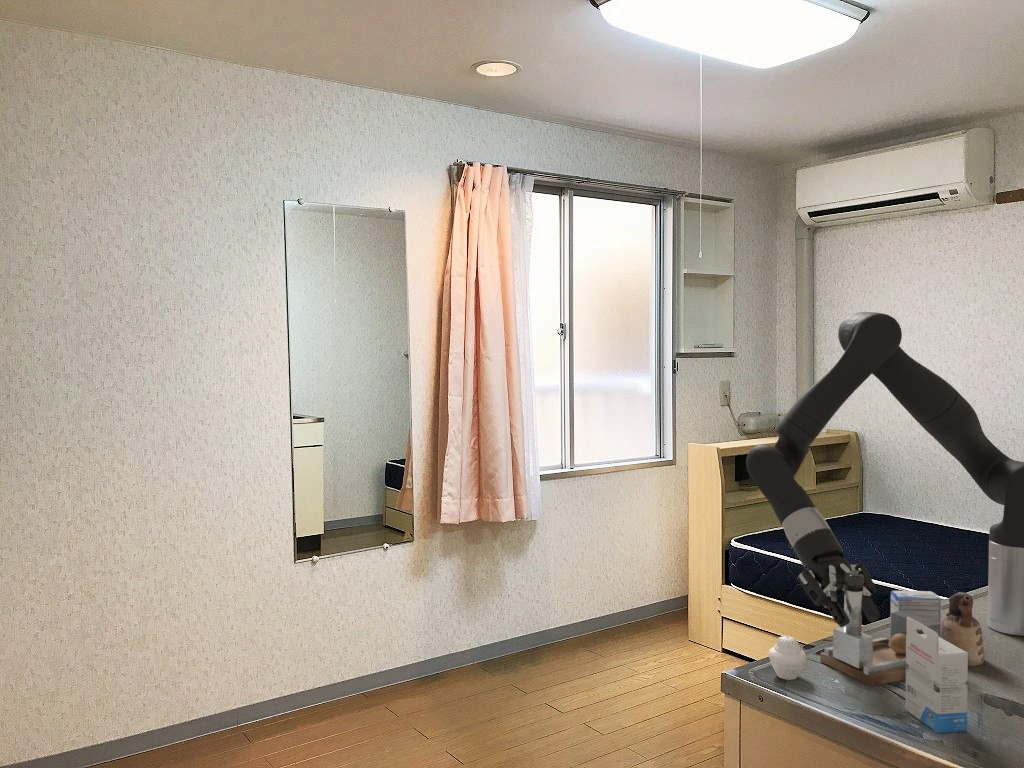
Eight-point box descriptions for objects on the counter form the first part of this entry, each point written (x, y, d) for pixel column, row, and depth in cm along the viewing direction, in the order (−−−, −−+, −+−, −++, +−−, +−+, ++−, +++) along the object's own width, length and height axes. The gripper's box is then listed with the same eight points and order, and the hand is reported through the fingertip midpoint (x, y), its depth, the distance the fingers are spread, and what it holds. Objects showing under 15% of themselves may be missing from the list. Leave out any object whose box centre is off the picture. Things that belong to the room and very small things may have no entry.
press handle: (846, 653, 146) (847, 569, 146) (873, 665, 141) (874, 578, 140) (832, 656, 145) (833, 571, 145) (858, 668, 140) (859, 580, 139)
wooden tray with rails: (896, 646, 155) (896, 619, 155) (951, 669, 144) (952, 640, 144) (820, 661, 148) (820, 633, 148) (872, 686, 137) (873, 656, 137)
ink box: (968, 732, 121) (970, 632, 120) (936, 734, 120) (938, 633, 119) (934, 707, 129) (935, 613, 128) (903, 708, 129) (905, 614, 128)
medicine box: (931, 634, 161) (932, 590, 161) (941, 643, 157) (942, 597, 156) (889, 633, 162) (890, 589, 162) (897, 641, 158) (898, 596, 157)
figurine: (980, 654, 151) (981, 588, 150) (988, 668, 144) (989, 600, 144) (936, 649, 153) (937, 585, 153) (942, 663, 147) (943, 596, 146)
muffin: (807, 672, 143) (808, 632, 143) (804, 686, 137) (804, 644, 137) (770, 667, 146) (770, 627, 145) (765, 679, 140) (765, 639, 140)
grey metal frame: (898, 640, 154) (898, 608, 153) (944, 659, 144) (945, 625, 144) (824, 654, 147) (824, 621, 147) (868, 675, 138) (868, 639, 138)
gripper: (790, 530, 146) (839, 617, 136) (853, 523, 152) (905, 606, 141) (769, 553, 151) (816, 638, 141) (831, 545, 157) (880, 627, 146)
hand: (860, 621), depth 141 cm, fingers open, 6 cm apart
